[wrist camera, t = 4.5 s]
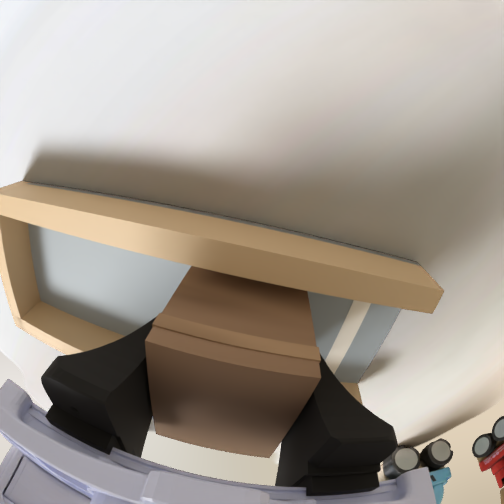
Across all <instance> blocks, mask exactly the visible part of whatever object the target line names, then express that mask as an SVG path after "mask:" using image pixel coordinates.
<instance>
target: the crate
mask: <svg viewBox="0 0 504 504" xmlns="http://www.w3.org/2000/svg"><path fill="white" fill-rule="evenodd" d="M145 349H146V362H147V372H148V382H149V390H150V398H151V405H152V412H153V419H154V425H155V431H156V434H158V435H161V436H165V437H168V438H171V439H175V440H178V441H182V442H185V443H189V444H193V445H197V446H201V447H206V448H211V449H215V450H220V451H225V452H231V453H236V454H243V455H250V456H257V457H265V458H269V457H270V456H271V455H272V453H273V452H274V451H275V449H276V448H277V447H278V445H279V444H280V442H281V441H282V440H283V438H284V437H285V435H286V434H287V432H288V431H289V429H290V428H291V426H292V425H293V423H294V422H295V420H296V419H297V417H298V416H299V414H300V413H301V411H302V409H303V408H304V406H305V405H306V403H307V401H308V400H309V398H310V396H311V395H312V393H313V391H314V390H315V388H316V386H317V384H318V383H319V381H320V379H321V373H320V366H319V363H320V361H321V358H320V351H319V347H317V346H316V340H315V333H314V327H313V321H312V315H311V309H310V303H309V298H308V292H307V291H305V290H300V289H295V288H290V287H285V286H281V285H276V284H271V283H266V282H262V281H257V280H252V279H248V278H243V277H239V276H234V275H230V274H225V273H221V272H216V271H212V270H208V269H203V268H199V267H195V266H191V267H190V269H189V270H188V272H187V273H186V275H185V277H184V278H183V280H182V281H181V283H180V284H179V286H178V287H177V289H176V291H175V292H174V294H173V295H172V297H171V299H170V300H169V302H168V303H167V305H166V307H165V308H164V310H163V311H162V313H159V314H158V315H157V317H156V319H155V320H154V322H153V324H152V329H151V331H150V333H149V334H148V336H147V338H146V339H145Z"/></svg>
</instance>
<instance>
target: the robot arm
mask: <svg viewBox="0 0 504 504" xmlns="http://www.w3.org/2000/svg"><path fill="white" fill-rule="evenodd" d="M161 313H162V312H161ZM156 317H157V316H156ZM156 317H155V318H153V319H152V320H151V321H149V322H148V323H146V324H145V325H143V326H142V327H140V328H138V329H137V330H135V331H134V332H132V333H130V334H128V335H127V336H125V337H123V338H121V339H119V340H116V341H114V342H112V343H109V344H106V345H104V346H101V347H98V348H95V349H92V350H88V351H85V352H81V353H76V354H70V355H64V356H58V357H57V358H56V359H55V360H54V361H53V362H52V364H51V365H50V366H49V368H48V369H47V370H46V371H45V373H44V374H43V375H42V377H41V381H42V385H43V387H44V389H45V391H46V393H47V394H48V396H49V398H50V400H51V401H52V403H53V405H52V406H51V408H50V409H49V411H48V412H46V411H45V410H43V409H42V408H40V407H38V406H37V405H35V404H34V403H33V402H32V400H31V398H30V396H29V395H28V394H27V393H26V392H25V391H24V390H23V389H22V388H21V387H19V386H18V385H17V384H15V383H14V382H13V381H11V380H10V379H7V381H6V382H5V383H4V385H3V386H2V387H1V388H0V433H1V434H2V435H3V436H4V437H5V438H6V439H7V440H8V441H9V442H10V443H11V444H12V446H11V448H10V449H9V451H8V453H7V455H6V456H5V458H4V460H3V462H2V463H1V465H0V504H436V499H435V494H434V490H433V486H432V482H431V478H430V474H429V470H428V467H424V468H419V469H415V470H411V471H408V472H405V473H403V474H401V475H400V476H399V477H397V478H396V479H392V480H387V481H381V482H379V479H378V473H377V472H379V471H380V470H381V467H380V463H381V462H382V461H384V460H385V459H386V458H387V457H389V456H390V455H391V454H392V453H393V452H394V451H395V450H396V448H397V446H398V443H397V439H396V435H395V432H394V429H393V426H391V425H390V424H388V423H386V422H385V421H383V420H382V419H380V418H379V417H377V416H376V415H374V414H373V413H372V412H370V411H369V410H368V409H367V408H365V407H364V406H363V405H362V404H361V403H360V402H359V401H357V400H356V399H355V398H354V397H353V396H352V395H351V394H350V393H349V392H348V391H347V390H346V388H345V387H344V386H343V385H342V384H341V383H340V381H339V380H338V379H337V378H336V376H335V375H334V374H333V372H332V371H331V370H330V368H329V367H328V365H327V364H326V362H325V360H324V359H323V357H322V356H321V354H320V358H321V361H320V363H319V366H320V373H321V379H320V381H319V383H318V384H317V386H316V388H315V390H314V391H313V393H312V395H311V396H310V398H309V400H308V401H307V403H306V405H305V406H304V408H303V409H302V411H301V413H300V414H299V416H298V417H297V419H296V420H295V422H294V423H293V425H292V426H291V428H290V429H289V431H288V432H287V434H286V435H285V437H284V438H283V440H282V443H281V452H280V459H279V467H278V472H277V478H276V484H275V486H267V485H256V484H247V483H240V482H233V481H227V480H221V479H216V478H211V477H206V476H201V475H197V474H193V473H189V472H185V471H181V470H177V469H174V468H170V467H167V466H163V465H160V464H157V463H154V462H151V461H148V460H145V459H142V458H141V455H142V451H143V446H144V443H145V439H146V436H147V432H148V429H149V425H150V422H151V419H152V416H153V412H152V405H151V398H150V390H149V382H148V372H147V362H146V349H145V339H146V338H147V336H148V334H149V333H150V331H151V329H152V324H153V322H154V320H155V319H156Z"/></svg>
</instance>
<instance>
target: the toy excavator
mask: <svg viewBox="0 0 504 504" xmlns="http://www.w3.org/2000/svg"><path fill="white" fill-rule="evenodd" d="M404 446H405V445H401V446H399V447H397V448H396V450H395V451H394V452H393V453H392V454H391V455H390V456H389V457H387V458H386V459H385V460H384V461H383V464H382V465H381V466H380V467H381V470H380V471H379V472H377V473H378V479H379V482H381V481H387V480H392V479H396V478H397V477H399V476H400V475H401V474H403V473H405V472H408V471H411V470H415V469H419V468H424V467H428V470H429V474H430V478H431V482H432V486H433V490H434V494H435V499H436V504H440V503H441V501H442V498H443V491H444V489H443V485H445V484H446V483H447V480H448V479H449V478H450V477H451V472H450V468H449V467H447V468H445V467H444V465H445V464H447V463H448V462H449V461H450V460H451V458H452V456H453V451H451V450H450V447H451V446H450V444H449V443H448V442H447V441H446V440H444V439H439V440H437V441H435V442H432V443H430V444H429V445H427V446H426V447H425V448H424V449H423V450H422V452H421V453H420V454H419V452H418V451H417V450H416V449H415V448H413V447H411V446H410V448H404Z"/></svg>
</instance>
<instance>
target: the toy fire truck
mask: <svg viewBox="0 0 504 504" xmlns="http://www.w3.org/2000/svg"><path fill="white" fill-rule="evenodd" d="M472 451H473V454H474V456H475V457H477V459H478V462H479V466H480V469H481V471H482V472H483V471H485V470H487V469H490V468H491V470H492V473H493V475H495V477H496V480H497V483H498V486H499V488H502V487H503V486H504V416H502V417H501V418H499V419H498V420H497V421H496V422H495V424H494V426H493V429H492V433H488V434H483V435H481V436H479V437H478V438H477V439H476V440H475V442H474V444H473V447H472ZM500 494H501V504H504V488H503V489H501V491H500Z"/></svg>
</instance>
